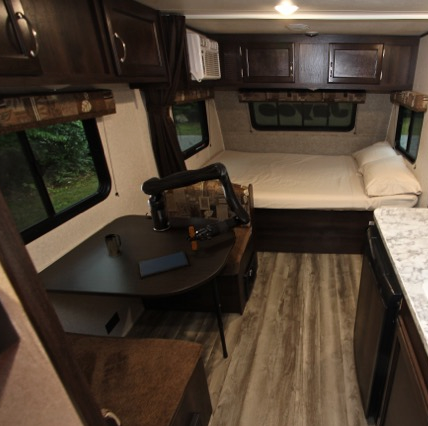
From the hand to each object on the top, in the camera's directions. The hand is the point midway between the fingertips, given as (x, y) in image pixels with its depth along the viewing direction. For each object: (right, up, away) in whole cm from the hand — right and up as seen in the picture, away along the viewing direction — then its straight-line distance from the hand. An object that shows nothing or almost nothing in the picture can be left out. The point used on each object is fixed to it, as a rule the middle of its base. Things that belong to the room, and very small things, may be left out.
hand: (187, 239), depth 151 cm
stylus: (+2, -6, +5) cm, 9 cm away
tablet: (-12, -13, -1) cm, 18 cm away
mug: (-42, -9, +8) cm, 43 cm away
